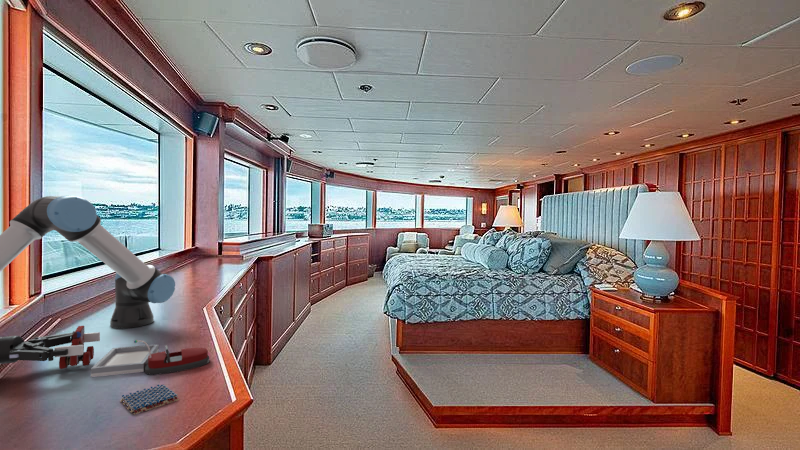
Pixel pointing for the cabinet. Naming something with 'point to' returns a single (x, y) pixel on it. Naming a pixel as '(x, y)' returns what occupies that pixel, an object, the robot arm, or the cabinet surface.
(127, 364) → the tray
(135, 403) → the woven mat
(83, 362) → the toy fire truck
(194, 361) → the bumper car
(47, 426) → the cabinet surface
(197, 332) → the cabinet surface
